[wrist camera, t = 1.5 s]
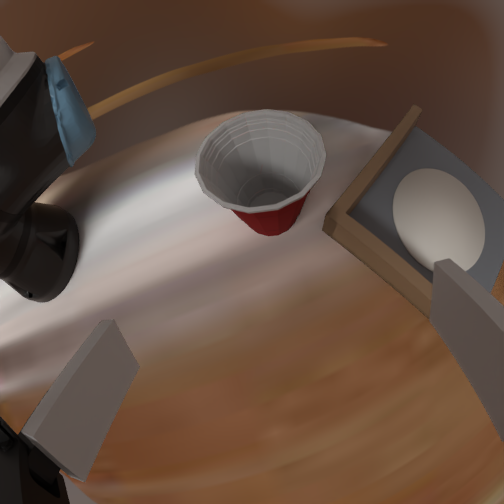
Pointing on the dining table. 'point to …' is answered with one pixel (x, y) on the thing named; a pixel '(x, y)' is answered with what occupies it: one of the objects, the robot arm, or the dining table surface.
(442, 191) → the tray
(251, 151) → the plastic cup
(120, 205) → the dining table surface
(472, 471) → the dining table surface
